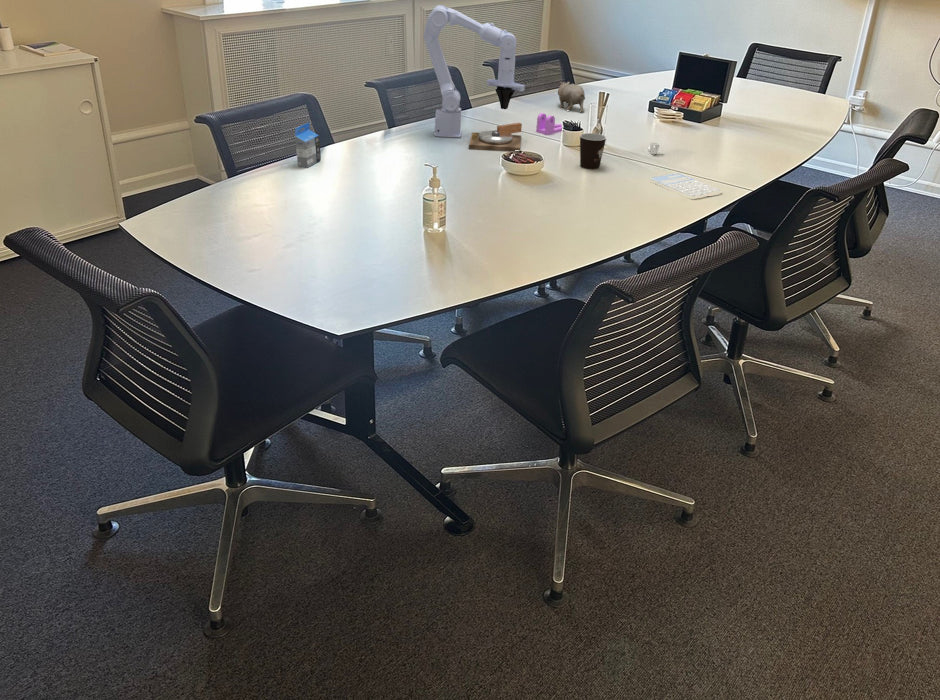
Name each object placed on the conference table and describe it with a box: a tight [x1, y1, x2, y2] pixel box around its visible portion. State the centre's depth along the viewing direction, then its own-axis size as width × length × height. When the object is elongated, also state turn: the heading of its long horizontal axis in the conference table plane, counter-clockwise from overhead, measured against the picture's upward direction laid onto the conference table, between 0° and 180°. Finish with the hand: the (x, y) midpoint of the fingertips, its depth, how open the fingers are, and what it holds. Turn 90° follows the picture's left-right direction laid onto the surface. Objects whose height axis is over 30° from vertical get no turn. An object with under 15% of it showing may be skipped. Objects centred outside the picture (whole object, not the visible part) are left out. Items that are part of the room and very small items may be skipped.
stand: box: [468, 132, 522, 152], centre depth 291 cm, size 18×16×3 cm
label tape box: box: [294, 121, 322, 169], centre depth 261 cm, size 9×4×12 cm, turn 160°
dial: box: [479, 122, 523, 144], centre depth 292 cm, size 17×12×4 cm
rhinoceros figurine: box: [557, 81, 586, 113], centre depth 340 cm, size 9×15×17 cm
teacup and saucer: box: [647, 142, 660, 155], centre depth 289 cm, size 9×8×4 cm
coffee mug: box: [579, 132, 607, 170], centre depth 272 cm, size 12×9×10 cm
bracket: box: [535, 112, 563, 136], centre depth 310 cm, size 13×6×7 cm, turn 135°
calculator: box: [649, 172, 721, 197], centre depth 258 cm, size 13×20×2 cm, turn 32°
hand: (504, 108), depth 295 cm, fingers closed
